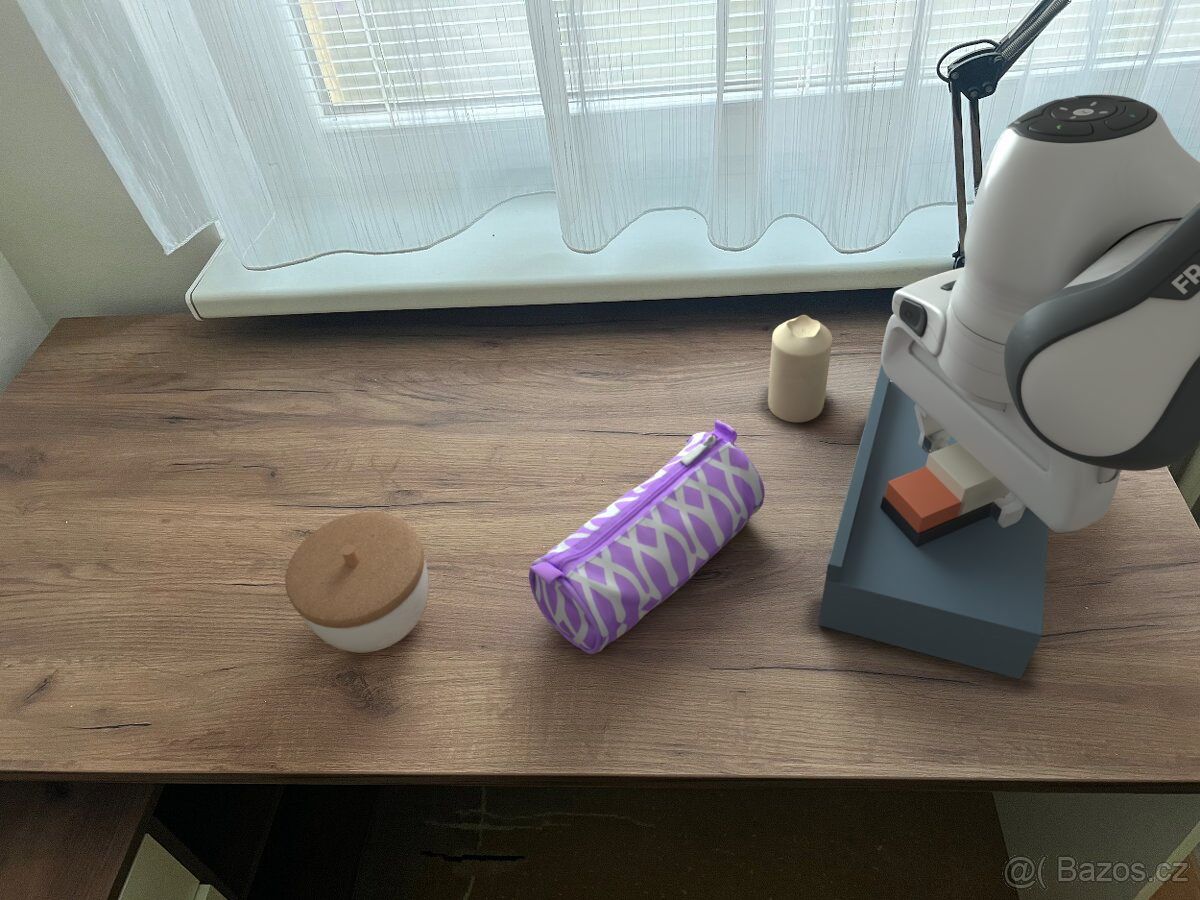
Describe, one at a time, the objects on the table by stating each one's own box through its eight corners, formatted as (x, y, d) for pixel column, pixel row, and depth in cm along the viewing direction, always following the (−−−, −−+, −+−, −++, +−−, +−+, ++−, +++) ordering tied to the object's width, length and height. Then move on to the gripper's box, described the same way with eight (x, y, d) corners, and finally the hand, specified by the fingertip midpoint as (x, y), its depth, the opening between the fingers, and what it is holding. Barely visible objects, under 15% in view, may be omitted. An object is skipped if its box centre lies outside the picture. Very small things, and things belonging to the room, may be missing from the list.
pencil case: (693, 470, 83) (692, 395, 76) (775, 517, 78) (781, 442, 71) (524, 622, 72) (506, 551, 66) (606, 687, 67) (596, 618, 61)
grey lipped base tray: (1037, 458, 80) (1062, 393, 75) (1020, 680, 65) (1050, 619, 59) (869, 426, 85) (881, 362, 79) (817, 625, 70) (828, 564, 64)
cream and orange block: (1001, 457, 73) (1015, 416, 69) (1042, 494, 70) (1059, 452, 66) (879, 507, 70) (888, 467, 67) (916, 548, 67) (927, 507, 64)
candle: (764, 420, 87) (770, 340, 80) (770, 384, 90) (776, 304, 83) (821, 425, 85) (832, 345, 78) (825, 388, 89) (835, 309, 82)
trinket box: (468, 599, 74) (445, 529, 68) (382, 698, 68) (347, 631, 62) (377, 550, 79) (347, 480, 72) (288, 638, 73) (247, 570, 66)
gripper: (1176, 421, 52) (1101, 563, 62) (949, 257, 66) (917, 394, 76) (1093, 456, 51) (1030, 596, 61) (879, 281, 64) (855, 417, 74)
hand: (966, 482), depth 68 cm, fingers open, 7 cm apart
